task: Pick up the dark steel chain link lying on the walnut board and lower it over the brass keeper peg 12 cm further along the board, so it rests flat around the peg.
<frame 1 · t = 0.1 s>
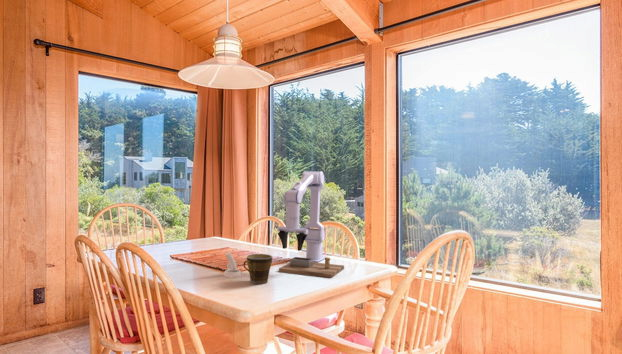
hand: (292, 249, 174), 10 cm above the table, tool pointing down, fingers open, 7 cm apart
keeper board: (312, 270, 178), on the table
chain link: (301, 265, 180), point 1 cm above the table, touching keeper board
ceramic cup: (256, 283, 155), on the table
hook: (232, 275, 167), on the table
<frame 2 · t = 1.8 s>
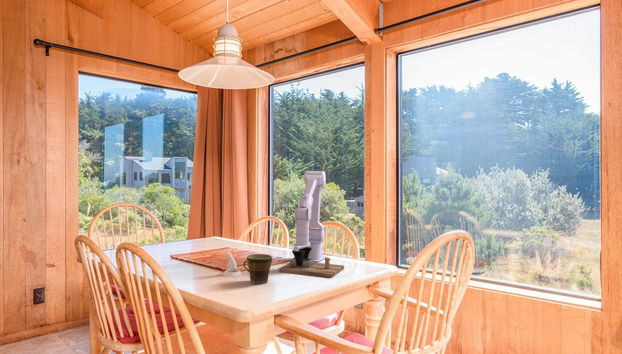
hand: (301, 264, 180), 2 cm above the table, tool pointing down, fingers closed on chain link, 6 cm apart
chain link: (301, 265, 180), point 1 cm above the table, touching gripper, keeper board
everything else where it was.
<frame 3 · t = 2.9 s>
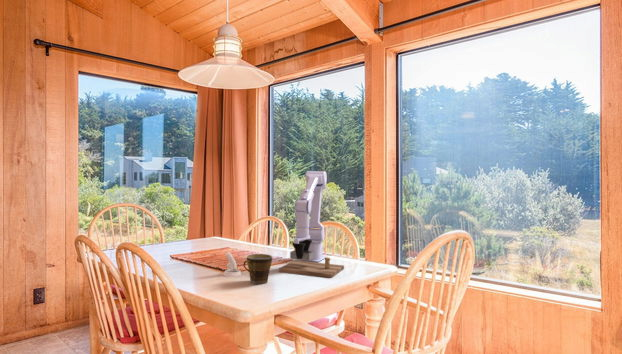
hand: (302, 257, 180), 5 cm above the table, tool pointing down, fingers closed on chain link, 6 cm apart
chain link: (302, 258, 180), point 5 cm above the table, touching gripper
everything else where it was.
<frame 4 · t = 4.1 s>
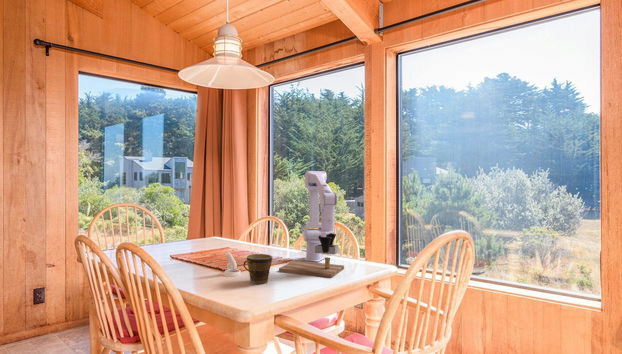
hand: (327, 251, 176), 9 cm above the table, tool pointing down, fingers closed on chain link, 6 cm apart
chain link: (326, 252, 176), point 8 cm above the table, touching gripper
everything else where it was.
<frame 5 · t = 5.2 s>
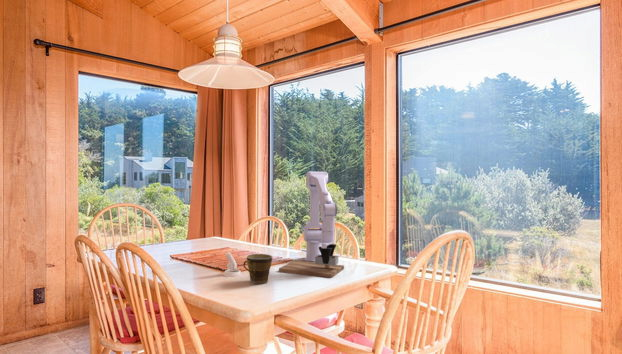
hand: (327, 262, 176), 4 cm above the table, tool pointing down, fingers closed on chain link, 6 cm apart
chain link: (326, 263, 176), point 4 cm above the table, touching gripper
everything else where it was.
when the fingers open (4 cm above the table, at t = 6.3 s): chain link drops 2 cm, resting on keeper board.
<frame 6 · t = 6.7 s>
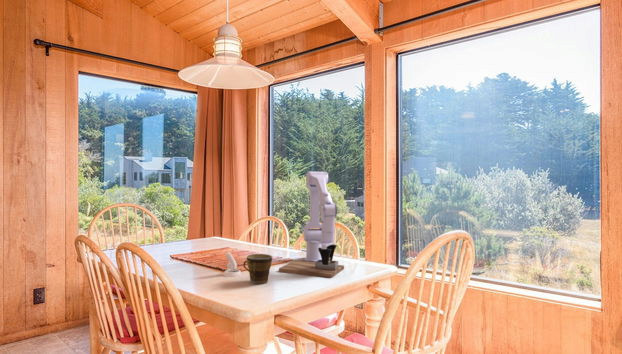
hand: (327, 262, 176), 4 cm above the table, tool pointing down, fingers open, 7 cm apart
chain link: (326, 268, 176), point 1 cm above the table, touching keeper board
everything else where it was.
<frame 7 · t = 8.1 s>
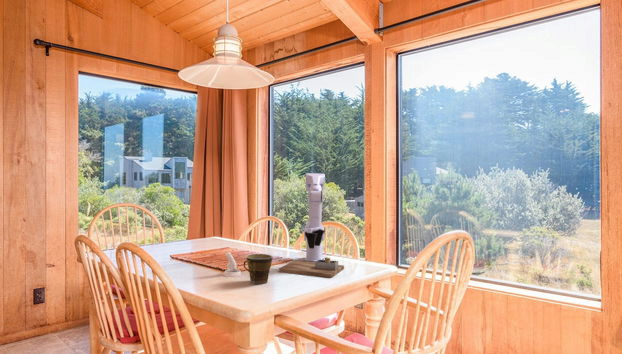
hand: (314, 246, 183), 9 cm above the table, tool pointing down, fingers open, 7 cm apart
nothing on the table moved.
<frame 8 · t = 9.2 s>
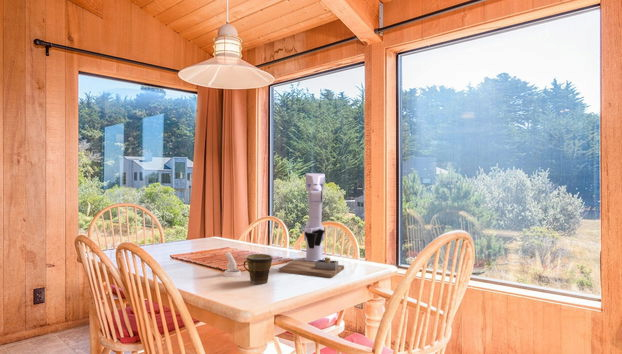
hand: (314, 246, 183), 9 cm above the table, tool pointing down, fingers open, 7 cm apart
nothing on the table moved.
at the end: chain link 0.2 cm from the target spot on the keeper board, point 1.5 cm above the keeper board's base; chain link tilted 0°; the gripper is holding nothing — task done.
